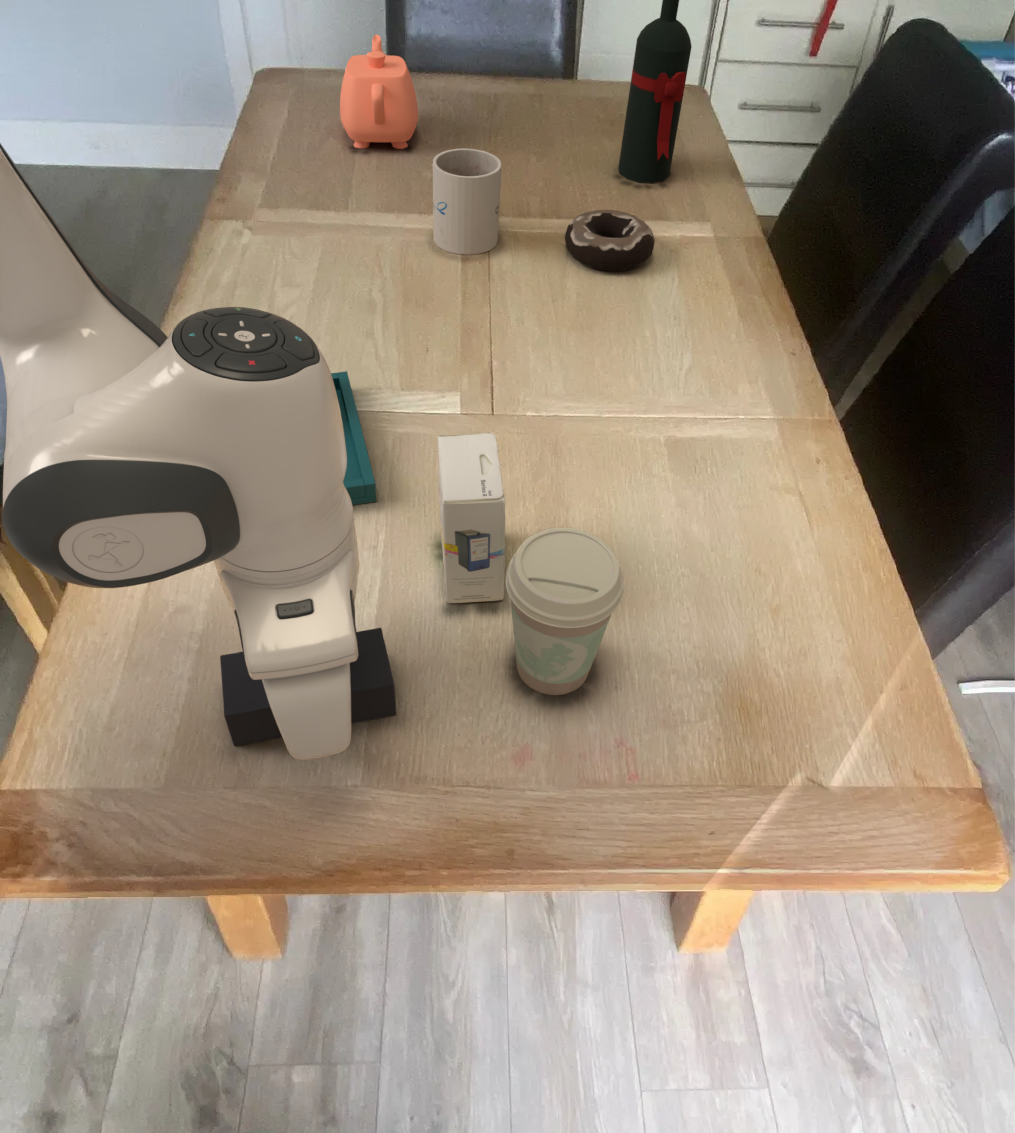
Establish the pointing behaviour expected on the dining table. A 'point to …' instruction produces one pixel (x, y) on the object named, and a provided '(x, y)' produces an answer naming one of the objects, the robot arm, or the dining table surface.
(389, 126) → the teapot
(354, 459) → the teal tray
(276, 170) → the dining table surface
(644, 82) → the wine bottle
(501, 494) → the ink box
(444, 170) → the mug
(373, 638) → the loose pad
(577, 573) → the coffee cup
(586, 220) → the donut
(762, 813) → the dining table surface
